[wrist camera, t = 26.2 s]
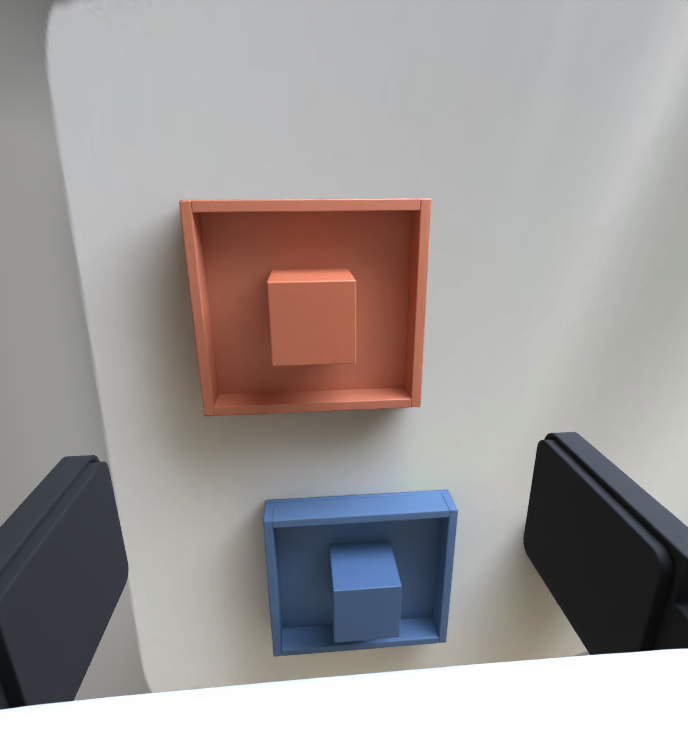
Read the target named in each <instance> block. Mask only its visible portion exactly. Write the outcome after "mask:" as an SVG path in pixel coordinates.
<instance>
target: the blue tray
mask: <svg viewBox="0 0 688 744" xmlns="http://www.w3.org/2000/svg"><path fill="white" fill-rule="evenodd" d="M457 514H458V509H457V507H456V505H455V503H454V501H453V499H452V497H451V495H450V494H449V491H448V490H438V491H421V492H403V493H386V494H368V495H351V496H333V497H316V498H298V499H281V500H266V501H265V510H264V519H263V525H264V538H265V551H266V564H267V577H268V590H269V603H270V616H271V629H272V642H273V654H274V656H281V655H282V656H287V655H299V654H311V653H323V652H335V651H347V650H359V649H372V648H384V647H396V646H408V645H420V644H432V643H438V642H439V643H444V642H446V636H447V625H448V614H449V603H450V592H451V581H452V570H453V558H454V547H455V536H456V525H457ZM374 541H390V544H391V547H392V551H393V555H394V559H395V563H396V566H397V570H398V574H399V578H400V582H401V585H402V591H401V613H400V635H399V637H395V638H383V639H370V640H358V641H346V642H334V633H333V620H332V607H331V595H330V554H329V545H330V544H343V543H358V542H374Z"/></svg>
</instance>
